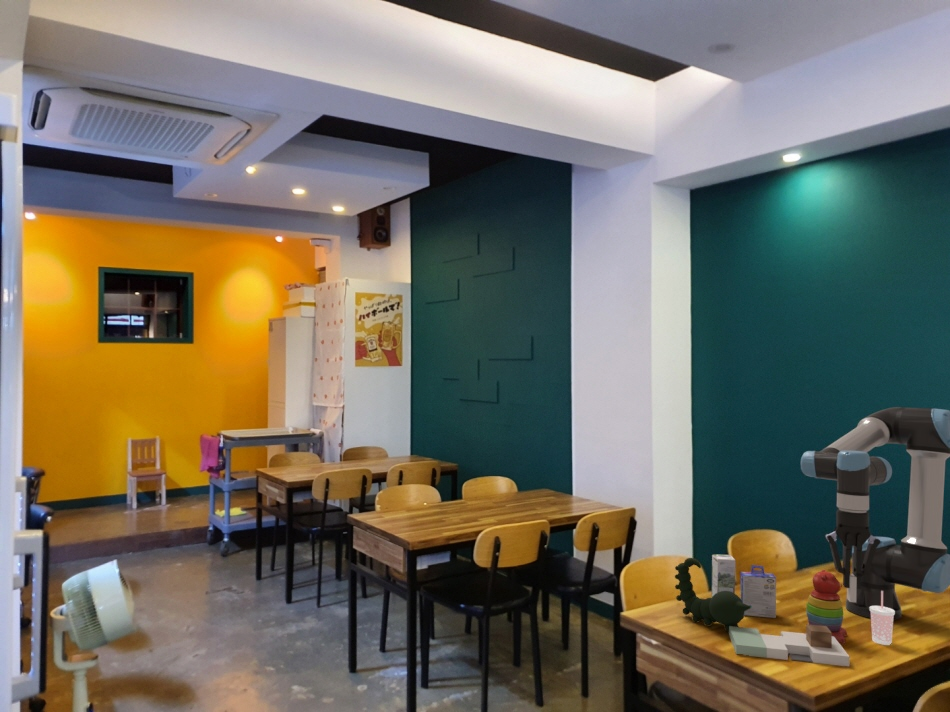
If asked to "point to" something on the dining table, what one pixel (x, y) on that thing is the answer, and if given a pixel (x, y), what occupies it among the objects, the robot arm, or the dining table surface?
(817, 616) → the stacking bear
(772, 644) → the trap deck
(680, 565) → the toy figurine
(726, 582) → the syrup box
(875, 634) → the beverage cup
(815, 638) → the walnut block
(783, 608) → the dining table surface
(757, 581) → the ink cartridge box
